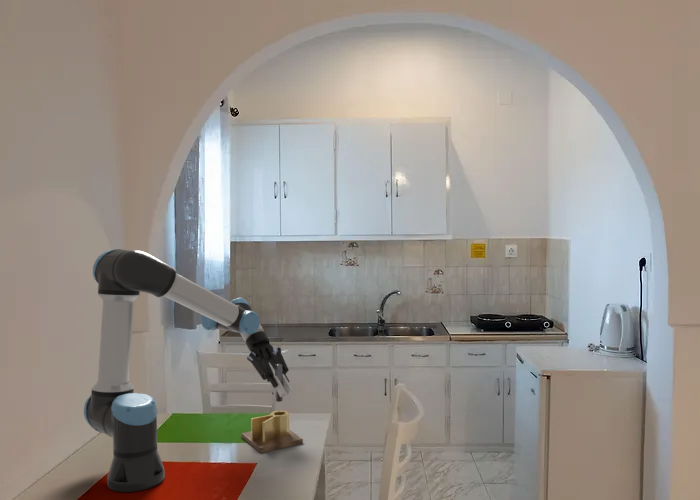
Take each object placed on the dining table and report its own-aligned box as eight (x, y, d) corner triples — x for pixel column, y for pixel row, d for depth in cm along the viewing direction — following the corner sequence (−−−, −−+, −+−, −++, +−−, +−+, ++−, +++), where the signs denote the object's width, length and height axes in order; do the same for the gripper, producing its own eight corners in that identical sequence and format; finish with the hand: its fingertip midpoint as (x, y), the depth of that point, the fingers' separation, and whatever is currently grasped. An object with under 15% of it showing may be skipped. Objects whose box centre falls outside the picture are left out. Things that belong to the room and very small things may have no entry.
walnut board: (259, 452, 187) (259, 448, 187) (241, 437, 201) (241, 433, 201) (302, 443, 195) (302, 438, 194) (282, 429, 208) (282, 424, 208)
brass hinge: (259, 445, 189) (258, 423, 189) (248, 437, 196) (248, 416, 196) (295, 437, 195) (295, 416, 195) (284, 430, 203) (283, 409, 203)
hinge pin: (277, 402, 197) (276, 365, 197) (274, 400, 199) (273, 364, 199) (284, 400, 198) (283, 364, 198) (281, 399, 200) (280, 363, 200)
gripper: (267, 340, 214) (299, 394, 203) (231, 347, 203) (263, 405, 192) (276, 327, 210) (309, 382, 199) (240, 333, 199) (273, 391, 188)
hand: (286, 393), depth 196 cm, fingers closed on hinge pin, 2 cm apart
